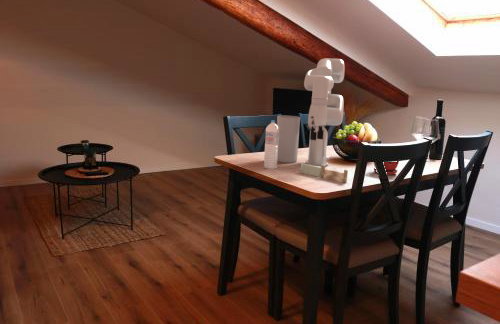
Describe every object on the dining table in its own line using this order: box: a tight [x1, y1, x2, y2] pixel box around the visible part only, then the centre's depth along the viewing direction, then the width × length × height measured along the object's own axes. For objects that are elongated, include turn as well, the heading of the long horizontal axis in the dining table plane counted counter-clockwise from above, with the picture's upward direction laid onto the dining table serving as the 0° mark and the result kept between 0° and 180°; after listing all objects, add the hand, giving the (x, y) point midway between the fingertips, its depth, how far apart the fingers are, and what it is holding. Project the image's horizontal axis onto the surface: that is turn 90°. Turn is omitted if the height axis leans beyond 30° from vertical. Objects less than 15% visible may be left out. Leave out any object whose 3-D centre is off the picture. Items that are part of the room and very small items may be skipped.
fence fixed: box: [320, 165, 349, 184], centre depth 194 cm, size 14×2×6 cm, turn 47°
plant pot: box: [373, 160, 400, 176], centre depth 217 cm, size 13×13×12 cm
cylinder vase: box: [276, 115, 301, 164], centre depth 235 cm, size 12×12×25 cm
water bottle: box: [263, 119, 279, 170], centre depth 213 cm, size 7×7×25 cm
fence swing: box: [299, 162, 322, 178], centre depth 203 cm, size 11×2×4 cm, turn 47°
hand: (316, 139), depth 206 cm, fingers open, 5 cm apart
